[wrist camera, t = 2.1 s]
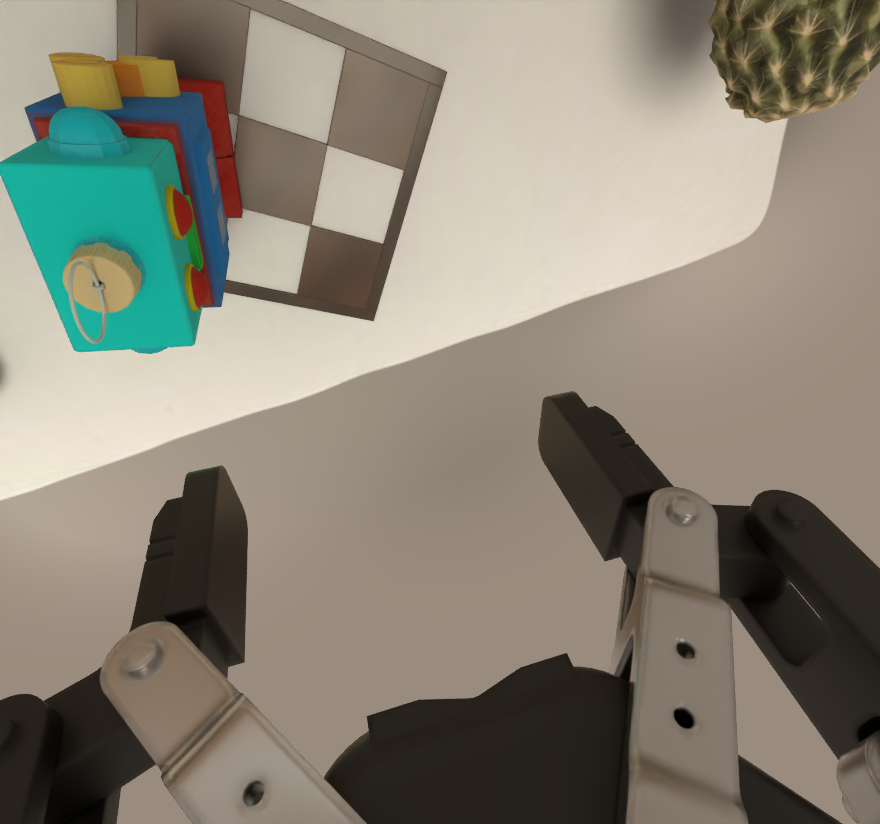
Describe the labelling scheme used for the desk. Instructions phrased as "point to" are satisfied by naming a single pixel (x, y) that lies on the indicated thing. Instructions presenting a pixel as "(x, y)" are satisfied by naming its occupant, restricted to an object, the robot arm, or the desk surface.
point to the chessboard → (296, 157)
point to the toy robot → (128, 200)
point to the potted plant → (793, 53)
